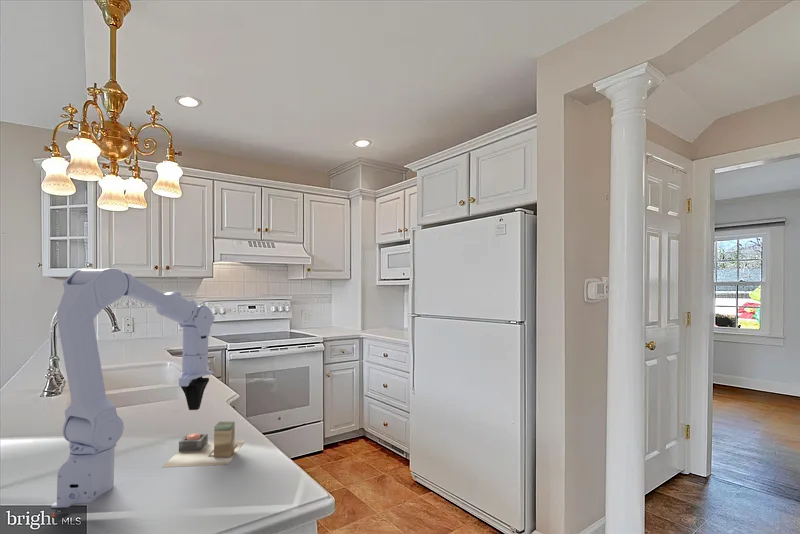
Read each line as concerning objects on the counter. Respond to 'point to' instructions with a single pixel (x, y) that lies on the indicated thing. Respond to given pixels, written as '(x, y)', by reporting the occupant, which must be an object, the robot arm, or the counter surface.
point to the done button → (193, 436)
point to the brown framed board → (199, 453)
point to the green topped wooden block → (224, 439)
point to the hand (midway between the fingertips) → (194, 409)
